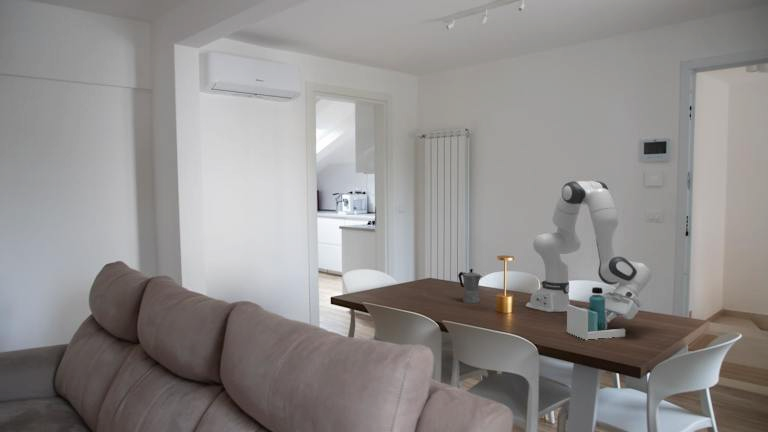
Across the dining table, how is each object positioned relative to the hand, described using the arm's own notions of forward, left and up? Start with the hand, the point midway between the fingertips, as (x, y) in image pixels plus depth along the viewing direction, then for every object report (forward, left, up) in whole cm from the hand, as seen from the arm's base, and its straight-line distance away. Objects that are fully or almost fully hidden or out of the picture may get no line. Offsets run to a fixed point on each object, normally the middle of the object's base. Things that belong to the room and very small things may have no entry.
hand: (604, 320), depth 223 cm
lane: (-2, -3, -6) cm, 7 cm away
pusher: (-4, -6, -5) cm, 9 cm away
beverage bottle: (-2, -3, -6) cm, 7 cm away
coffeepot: (-79, +14, -6) cm, 81 cm away
